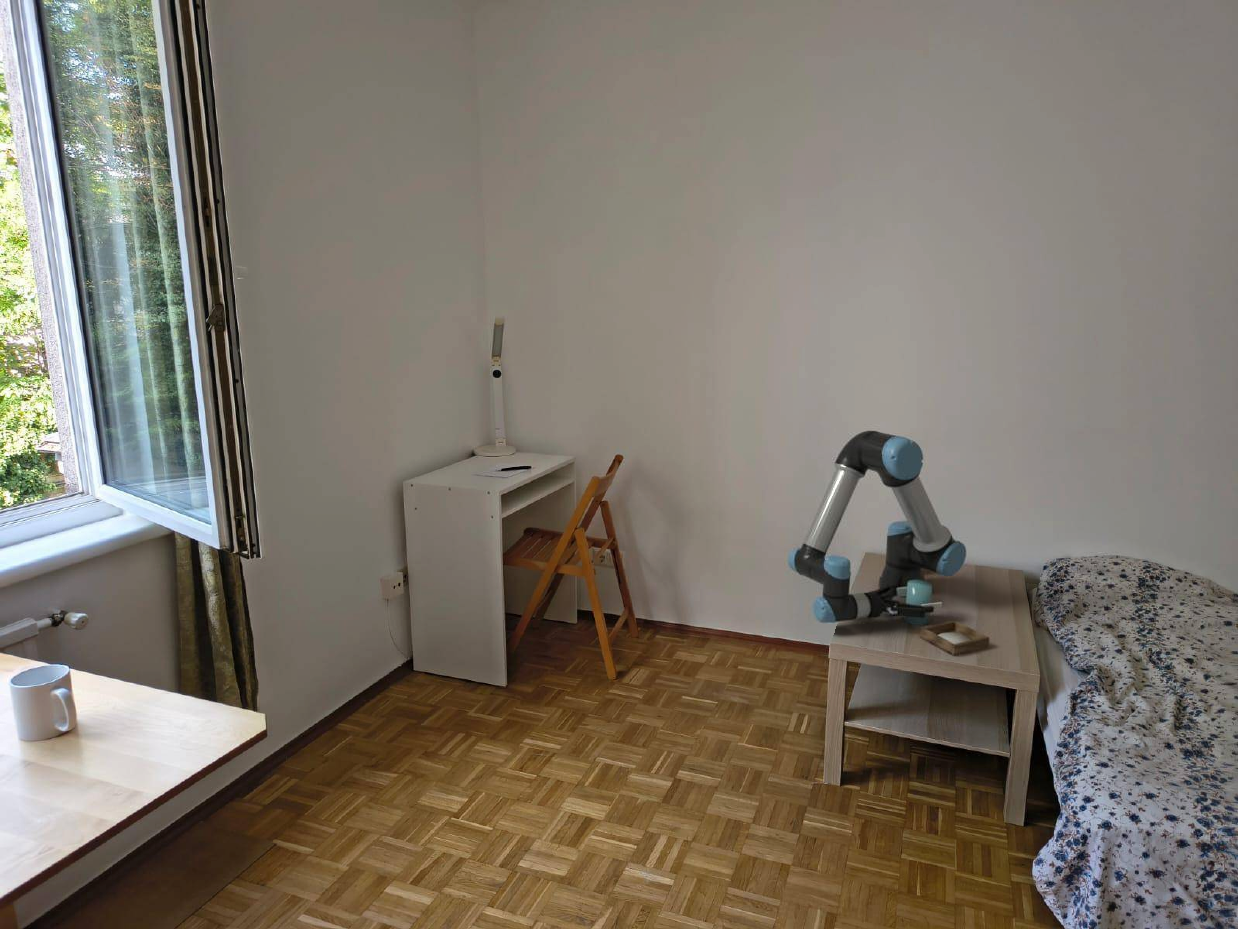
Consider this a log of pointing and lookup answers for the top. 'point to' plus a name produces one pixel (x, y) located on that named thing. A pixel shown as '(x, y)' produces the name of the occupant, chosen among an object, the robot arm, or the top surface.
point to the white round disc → (954, 637)
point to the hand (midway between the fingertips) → (928, 598)
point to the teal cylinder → (918, 599)
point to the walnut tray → (975, 637)
